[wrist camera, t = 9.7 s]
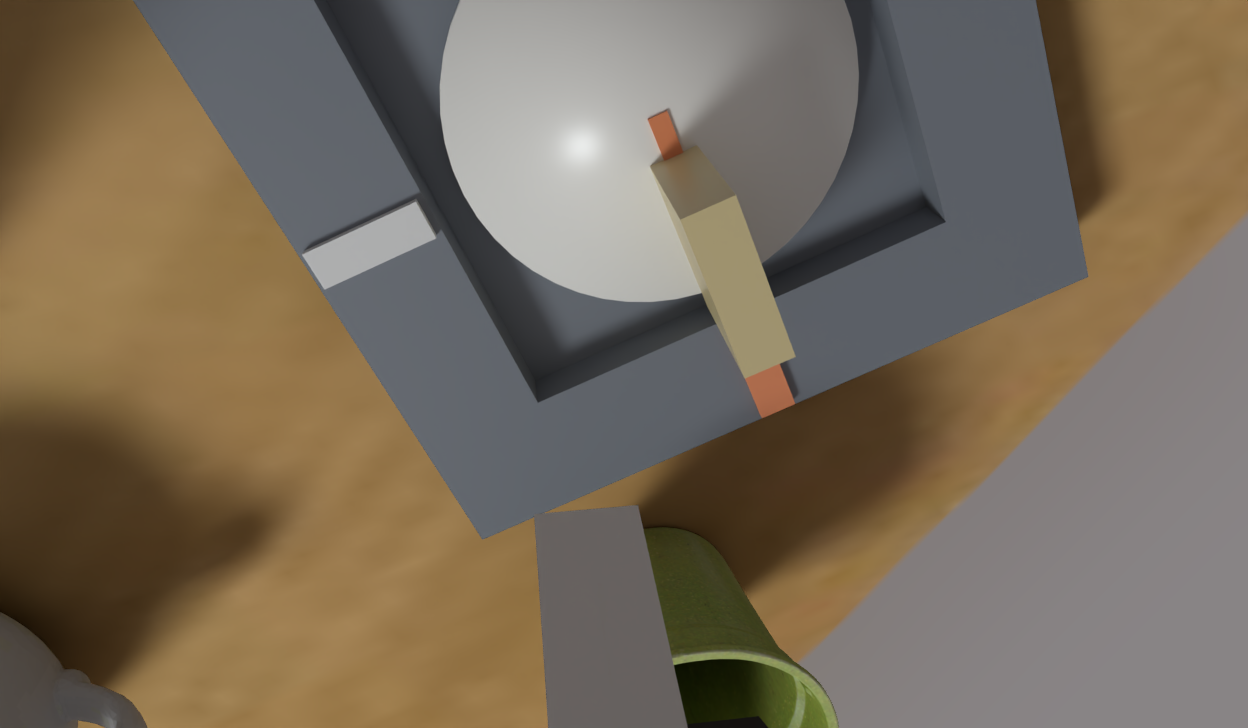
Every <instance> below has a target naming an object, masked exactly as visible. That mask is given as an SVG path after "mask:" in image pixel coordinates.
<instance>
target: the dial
mask: <svg viewBox="0 0 1248 728" xmlns="http://www.w3.org/2000/svg"><path fill="white" fill-rule="evenodd" d="M858 83H859V69H858V56H857V45H856V40H855V36H854V31H853V26H852V21H851V18H850V15H849V12H848V9H847V6H846V3H845V1H844V0H459V3H458V6H457V8H456V11H455V13H454V16H453V18H452V21H451V24H450V28H449V32H448V36H447V40H446V45H445V49H444V53H443V60H442V70H441V79H440V116H441V122H442V129H443V135H444V142H445V146H446V149H447V153H448V156H449V159H450V163H451V166H452V170H453V172H454V174H455V177H456V179H457V181H458V183H459V186H460V188H461V190H462V192H463V195H464V196H465V198H466V200H467V201H468V203H469V205H470V206H471V208H472V209H473V211H474V213H475V214H476V216H477V218H478V219H479V220H480V221H481V223H482V224H483V225H484V226H485V228H486V229H487V230H488V231H489V233H490V234H491V235H492V236H493V238H494V239H495V240H496V241H497V242H499V243H500V244H501V245H502V246H503V247H504V248H505V249H506V250H507V251H508V252H509V253H510V254H511V255H512V256H513V257H515V258H516V259H517V260H519V261H520V262H521V263H523V264H524V265H526V266H527V267H528V268H530V269H531V270H532V271H534V272H536V273H538V274H539V275H541V276H543V277H545V278H547V279H548V280H550V281H552V282H554V283H556V284H558V285H561V286H563V287H566V288H568V289H571V290H573V291H576V292H578V293H582V294H586V295H590V296H594V297H598V298H602V299H609V300H616V301H624V302H656V301H665V300H673V299H679V298H683V297H687V296H692V295H696V294H700V293H702V295H703V297H704V300H705V302H706V305H707V307H708V309H709V311H710V313H711V315H712V317H713V319H714V321H715V323H716V324H717V326H718V328H719V330H720V332H721V334H722V336H723V338H724V340H725V342H726V344H727V346H728V347H729V349H730V351H731V353H732V355H733V357H734V359H735V361H736V363H737V365H738V367H739V369H740V371H741V372H742V374H743V376H744V378H748V377H750V376H752V375H755V374H757V373H759V372H762V371H764V370H766V369H769V368H771V367H773V366H776V365H778V364H780V363H783V362H785V361H787V360H790V359H792V358H794V357H796V356H795V353H794V351H793V348H792V345H791V343H790V340H789V337H788V334H787V332H786V329H785V326H784V324H783V321H782V318H781V315H780V313H779V310H778V307H777V305H776V302H775V299H774V296H773V294H772V291H771V288H770V286H769V283H768V280H767V278H766V275H765V272H764V269H763V267H762V264H761V263H763V262H764V261H766V260H767V259H769V258H770V257H771V256H772V255H773V254H775V253H776V252H777V251H778V250H779V249H781V248H782V247H783V246H784V245H785V244H786V243H788V242H789V241H790V239H791V238H792V237H793V236H794V235H795V234H796V233H797V232H798V231H799V230H800V229H801V228H802V227H803V226H804V225H805V224H806V222H807V221H808V220H809V218H810V217H811V216H812V214H813V213H814V211H815V210H816V209H817V207H818V206H819V205H820V203H821V202H822V200H823V199H824V197H825V195H826V193H827V192H828V190H829V188H830V186H831V185H832V183H833V181H834V180H835V177H836V175H837V173H838V170H839V168H840V166H841V163H842V161H843V159H844V156H845V154H846V151H847V147H848V144H849V140H850V137H851V134H852V130H853V126H854V120H855V114H856V108H857V103H858Z"/></svg>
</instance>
